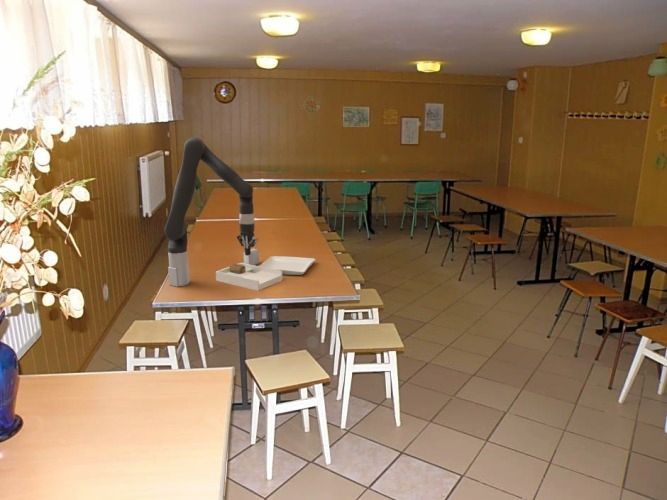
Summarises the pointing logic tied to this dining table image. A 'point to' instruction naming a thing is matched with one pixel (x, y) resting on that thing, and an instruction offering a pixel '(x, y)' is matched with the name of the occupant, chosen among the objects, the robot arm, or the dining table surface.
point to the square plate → (288, 264)
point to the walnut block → (237, 269)
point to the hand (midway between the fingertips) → (247, 254)
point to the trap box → (250, 277)
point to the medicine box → (252, 257)
